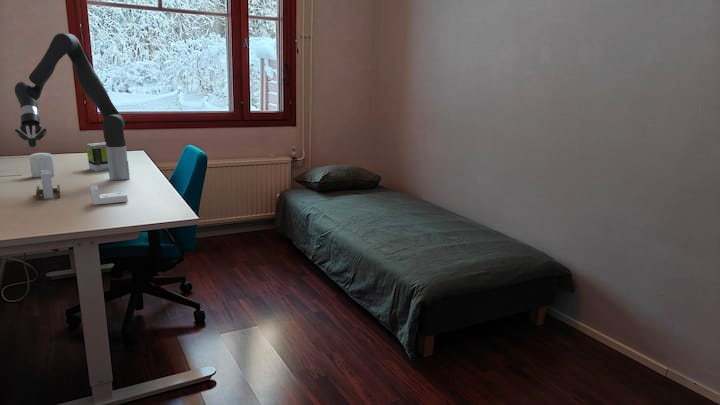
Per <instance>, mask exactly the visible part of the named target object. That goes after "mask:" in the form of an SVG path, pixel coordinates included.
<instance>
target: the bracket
mask: <svg viewBox="0 0 720 405" xmlns="http://www.w3.org/2000/svg"><path fill="white" fill-rule="evenodd" d="M89 188H90V193H91V194H90V195H91V203H92V205H105V204H115V203H123V202H128V199H129V198H128V195H127V193H126V191H123V192H122V191H121V192H109V193H101V194H100V188H98V185H90V187H89Z"/></svg>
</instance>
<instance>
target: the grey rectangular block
mask: <svg viewBox="0 0 720 405" xmlns="http://www.w3.org/2000/svg"><path fill="white" fill-rule="evenodd" d="M52 177H53V176H51V170H41V177H40V178H41V179H40V180H41V186H42V189H43V194H44V199H48V200H53V199H52V198H54V191H53V188H54V185H53V180H52V179H53V178H52Z"/></svg>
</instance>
